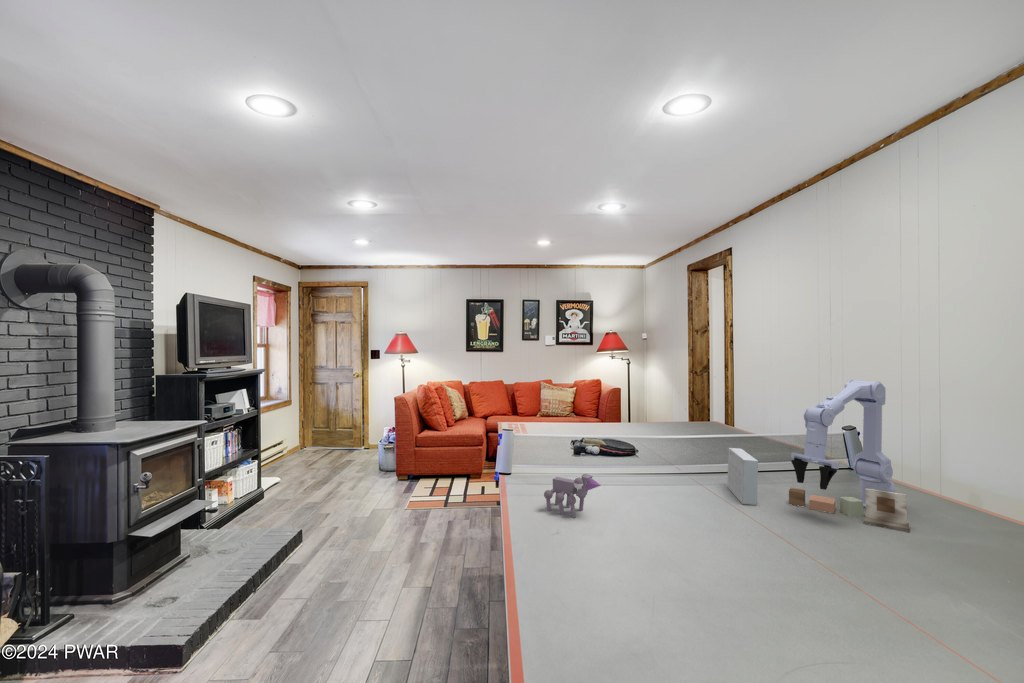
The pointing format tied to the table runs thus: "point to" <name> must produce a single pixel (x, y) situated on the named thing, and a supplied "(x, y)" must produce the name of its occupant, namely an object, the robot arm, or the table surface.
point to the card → (886, 510)
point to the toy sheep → (570, 492)
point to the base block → (822, 503)
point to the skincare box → (742, 475)
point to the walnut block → (797, 496)
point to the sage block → (851, 506)
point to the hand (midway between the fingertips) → (811, 485)
